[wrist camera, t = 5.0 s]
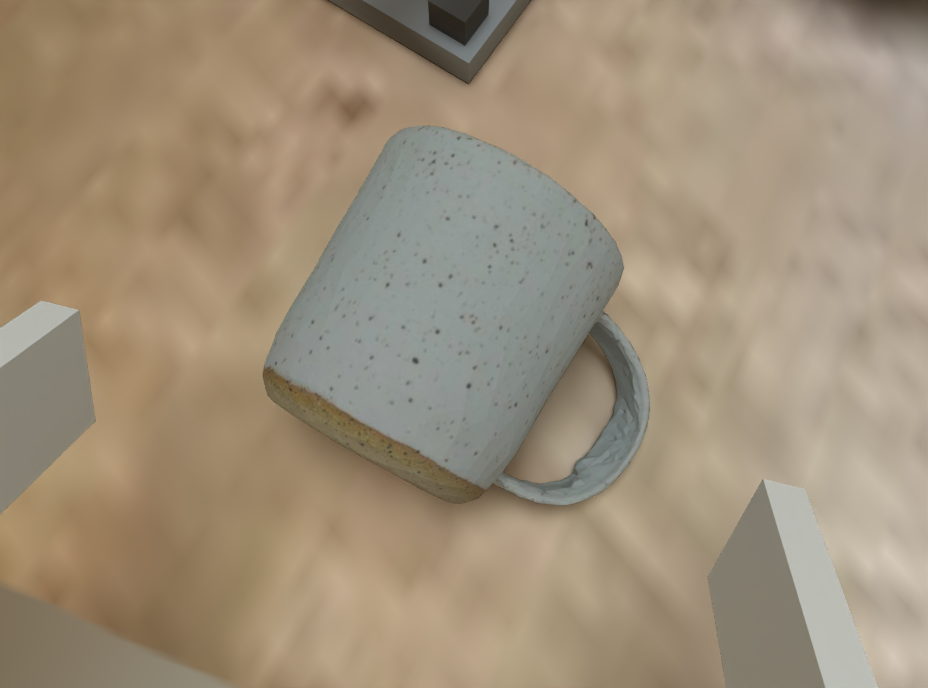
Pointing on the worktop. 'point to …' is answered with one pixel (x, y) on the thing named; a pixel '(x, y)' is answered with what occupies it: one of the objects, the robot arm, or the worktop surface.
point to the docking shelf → (442, 27)
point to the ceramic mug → (457, 321)
